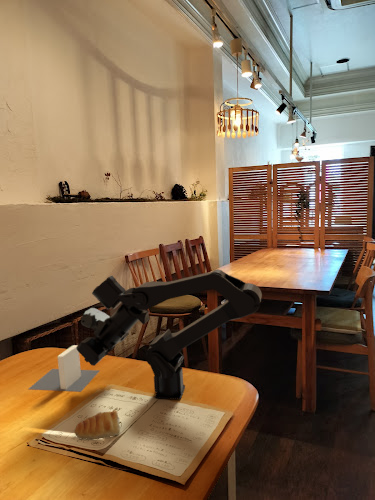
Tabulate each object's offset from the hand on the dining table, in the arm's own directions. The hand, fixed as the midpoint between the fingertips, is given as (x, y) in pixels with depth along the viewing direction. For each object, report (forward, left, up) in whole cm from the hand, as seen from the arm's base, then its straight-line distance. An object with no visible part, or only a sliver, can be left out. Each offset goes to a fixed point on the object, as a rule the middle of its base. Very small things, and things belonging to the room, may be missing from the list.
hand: (86, 360), depth 98 cm
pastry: (-12, +18, -8) cm, 23 cm away
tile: (+5, 0, -7) cm, 8 cm away
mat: (+8, -2, -7) cm, 11 cm away
